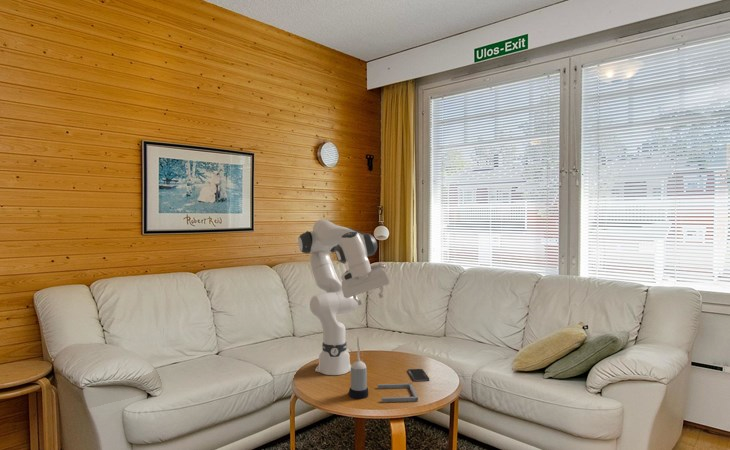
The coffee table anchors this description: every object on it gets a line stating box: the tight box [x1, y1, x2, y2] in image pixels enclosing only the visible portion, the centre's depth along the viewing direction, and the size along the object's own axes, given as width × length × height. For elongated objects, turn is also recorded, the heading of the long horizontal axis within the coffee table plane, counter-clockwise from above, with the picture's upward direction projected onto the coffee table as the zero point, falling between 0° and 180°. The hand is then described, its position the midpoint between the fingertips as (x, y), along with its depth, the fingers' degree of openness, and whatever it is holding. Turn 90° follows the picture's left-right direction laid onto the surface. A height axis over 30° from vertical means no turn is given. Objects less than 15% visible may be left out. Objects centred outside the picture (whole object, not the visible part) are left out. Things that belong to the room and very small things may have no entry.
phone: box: [407, 368, 430, 382], centre depth 218 cm, size 8×1×15 cm
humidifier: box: [347, 336, 369, 400], centre depth 194 cm, size 8×8×25 cm
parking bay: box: [377, 383, 419, 403], centre depth 195 cm, size 16×15×2 cm
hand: (370, 301), depth 191 cm, fingers open, 8 cm apart
